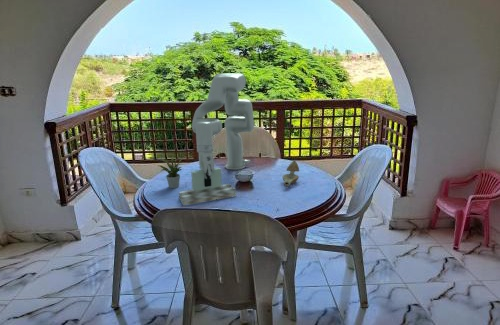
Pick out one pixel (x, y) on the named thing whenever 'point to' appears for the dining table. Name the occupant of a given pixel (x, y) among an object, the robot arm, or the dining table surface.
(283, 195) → the dining table surface
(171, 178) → the house plant
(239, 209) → the dining table surface
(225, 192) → the door track
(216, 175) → the door panel
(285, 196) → the dining table surface
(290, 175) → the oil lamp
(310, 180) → the dining table surface
